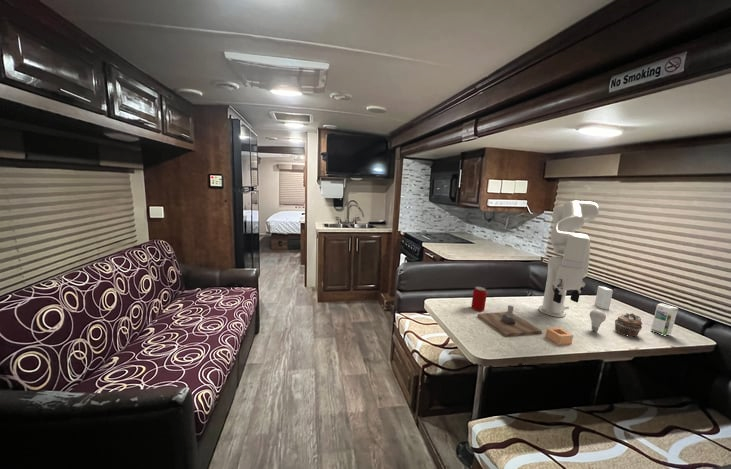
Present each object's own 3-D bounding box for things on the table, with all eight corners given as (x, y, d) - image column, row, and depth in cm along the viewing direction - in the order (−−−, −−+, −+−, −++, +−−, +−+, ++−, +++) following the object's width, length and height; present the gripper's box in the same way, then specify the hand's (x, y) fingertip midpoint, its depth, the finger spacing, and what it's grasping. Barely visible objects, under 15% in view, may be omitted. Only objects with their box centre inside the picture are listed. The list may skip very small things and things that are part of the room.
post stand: (509, 314, 151) (512, 297, 149) (541, 333, 132) (545, 314, 130) (477, 316, 146) (479, 299, 144) (505, 336, 127) (508, 317, 125)
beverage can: (482, 307, 158) (485, 286, 156) (486, 312, 151) (489, 291, 149) (469, 306, 158) (472, 285, 156) (473, 311, 152) (475, 289, 150)
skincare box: (609, 309, 166) (613, 290, 164) (602, 309, 166) (606, 289, 164) (600, 305, 172) (605, 286, 170) (593, 304, 172) (597, 286, 170)
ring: (557, 335, 131) (558, 327, 130) (571, 343, 125) (573, 335, 124) (545, 336, 129) (546, 328, 129) (559, 344, 123) (560, 336, 122)
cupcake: (623, 327, 143) (627, 309, 142) (644, 338, 134) (649, 318, 132) (607, 328, 142) (611, 309, 140) (628, 338, 132) (633, 318, 131)
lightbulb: (598, 335, 134) (603, 313, 132) (583, 329, 139) (588, 308, 137) (604, 333, 137) (609, 311, 135) (590, 327, 142) (594, 306, 140)
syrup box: (649, 331, 142) (656, 304, 139) (656, 329, 144) (663, 302, 141) (664, 337, 136) (672, 308, 134) (671, 335, 139) (678, 307, 136)
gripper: (579, 261, 127) (572, 297, 130) (549, 261, 122) (542, 299, 125) (597, 266, 120) (589, 304, 122) (565, 266, 115) (557, 306, 118)
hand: (565, 301), depth 124 cm, fingers open, 9 cm apart
